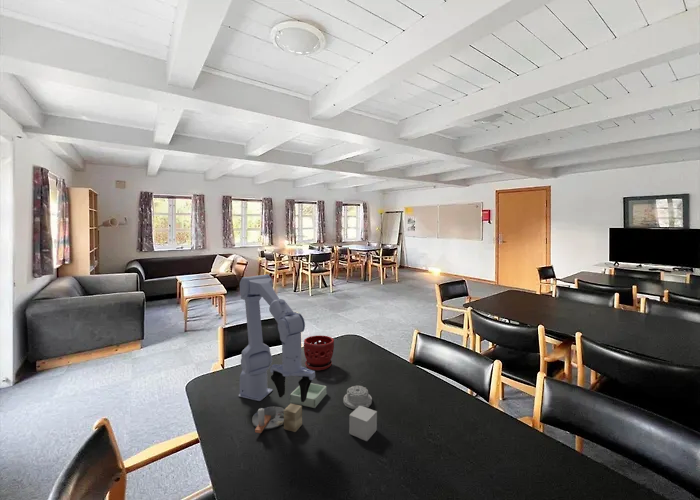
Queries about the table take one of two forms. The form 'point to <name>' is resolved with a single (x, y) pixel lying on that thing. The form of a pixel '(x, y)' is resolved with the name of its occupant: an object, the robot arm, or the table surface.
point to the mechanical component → (357, 397)
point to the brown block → (292, 417)
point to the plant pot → (318, 352)
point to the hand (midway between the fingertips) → (292, 397)
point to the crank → (264, 418)
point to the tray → (309, 395)
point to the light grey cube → (363, 423)
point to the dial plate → (273, 422)
